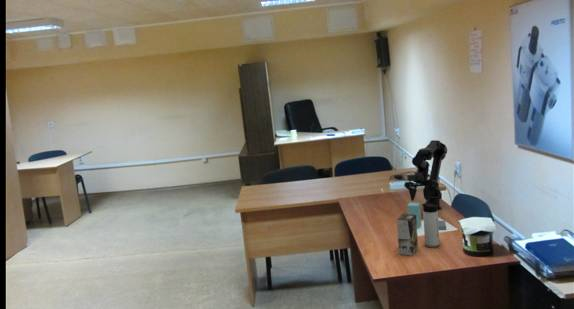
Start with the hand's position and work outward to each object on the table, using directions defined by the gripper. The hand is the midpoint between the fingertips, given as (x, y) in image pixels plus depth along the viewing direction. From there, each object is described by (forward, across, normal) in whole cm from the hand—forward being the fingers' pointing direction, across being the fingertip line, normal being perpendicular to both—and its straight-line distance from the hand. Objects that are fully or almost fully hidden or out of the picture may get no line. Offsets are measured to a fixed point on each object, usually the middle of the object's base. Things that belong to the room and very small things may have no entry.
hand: (419, 200), depth 241 cm
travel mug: (+25, +21, -11) cm, 34 cm away
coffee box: (+30, +17, -21) cm, 41 cm away
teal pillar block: (+15, +2, -3) cm, 15 cm away
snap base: (+13, +10, +4) cm, 17 cm away
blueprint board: (+14, +6, +2) cm, 15 cm away
